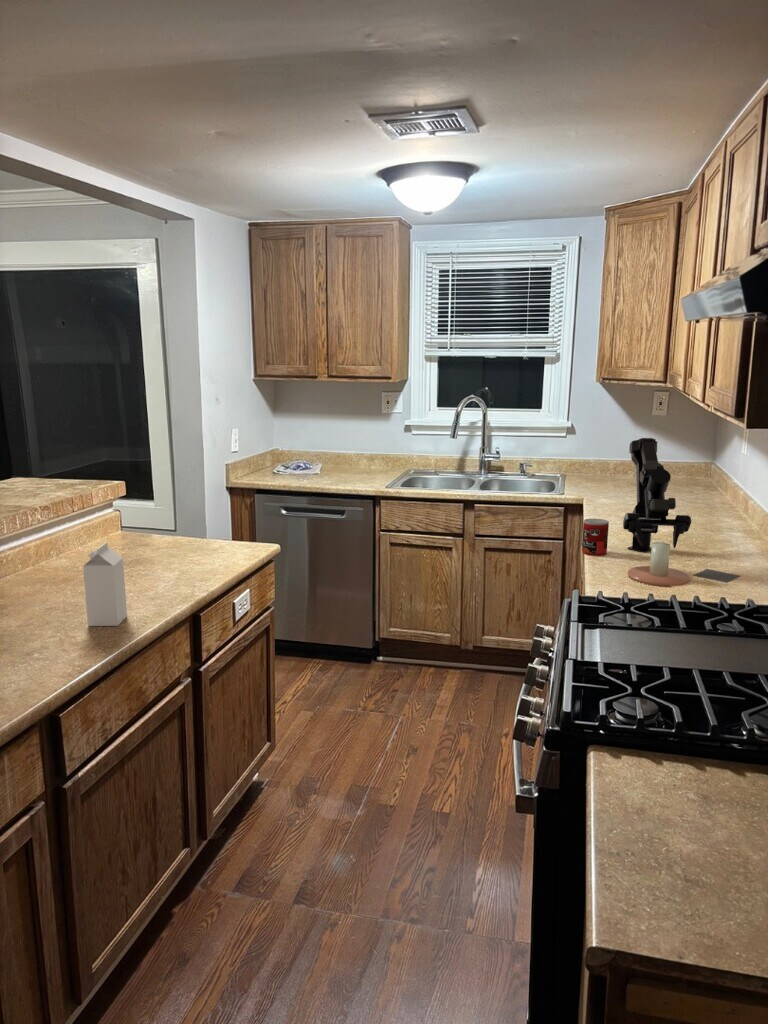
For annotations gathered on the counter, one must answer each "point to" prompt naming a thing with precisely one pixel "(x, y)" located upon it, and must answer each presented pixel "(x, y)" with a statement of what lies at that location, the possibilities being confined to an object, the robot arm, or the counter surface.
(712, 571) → the rubber mat
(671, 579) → the terracotta plate
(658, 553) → the sage canister
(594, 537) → the canned food
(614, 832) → the counter surface
